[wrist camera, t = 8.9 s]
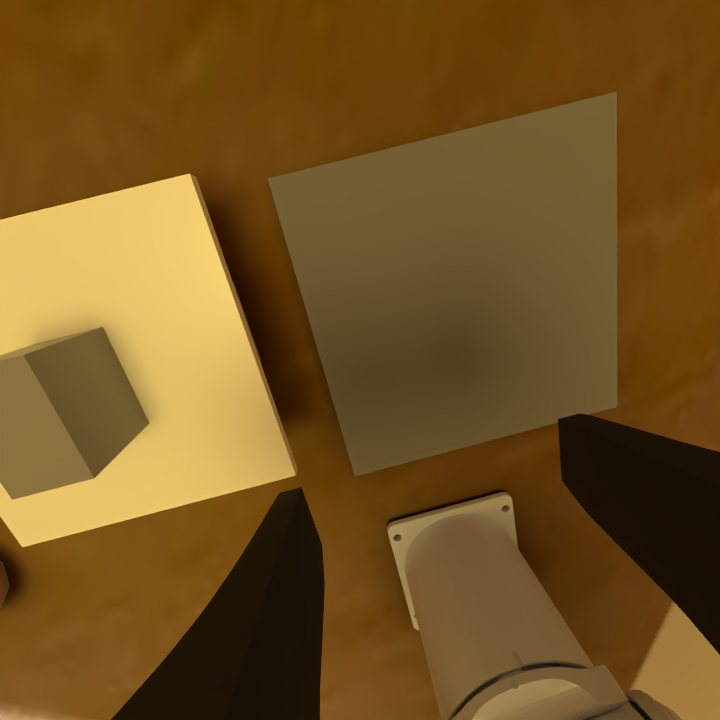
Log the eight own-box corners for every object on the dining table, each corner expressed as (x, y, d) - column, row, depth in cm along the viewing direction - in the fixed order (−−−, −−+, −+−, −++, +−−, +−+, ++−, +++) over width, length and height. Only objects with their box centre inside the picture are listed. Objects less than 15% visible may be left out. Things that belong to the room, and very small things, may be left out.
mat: (612, 403, 21) (617, 406, 21) (354, 472, 21) (354, 476, 20) (609, 95, 16) (616, 91, 16) (269, 180, 16) (267, 178, 15)
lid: (297, 467, 16) (288, 539, 12) (33, 536, 16) (-64, 632, 12) (196, 176, 12) (134, 143, 8) (-155, 262, 12) (-391, 269, 8)
